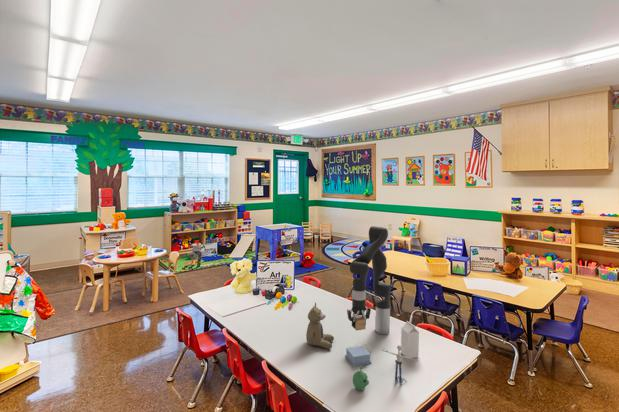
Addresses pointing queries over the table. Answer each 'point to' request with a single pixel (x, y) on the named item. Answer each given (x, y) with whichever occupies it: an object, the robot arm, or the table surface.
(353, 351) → the pedestal
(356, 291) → the robot arm
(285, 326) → the table surface
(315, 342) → the bear
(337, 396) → the table surface
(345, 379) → the table surface
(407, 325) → the milk carton
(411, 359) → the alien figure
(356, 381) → the alien toy
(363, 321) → the walnut block
